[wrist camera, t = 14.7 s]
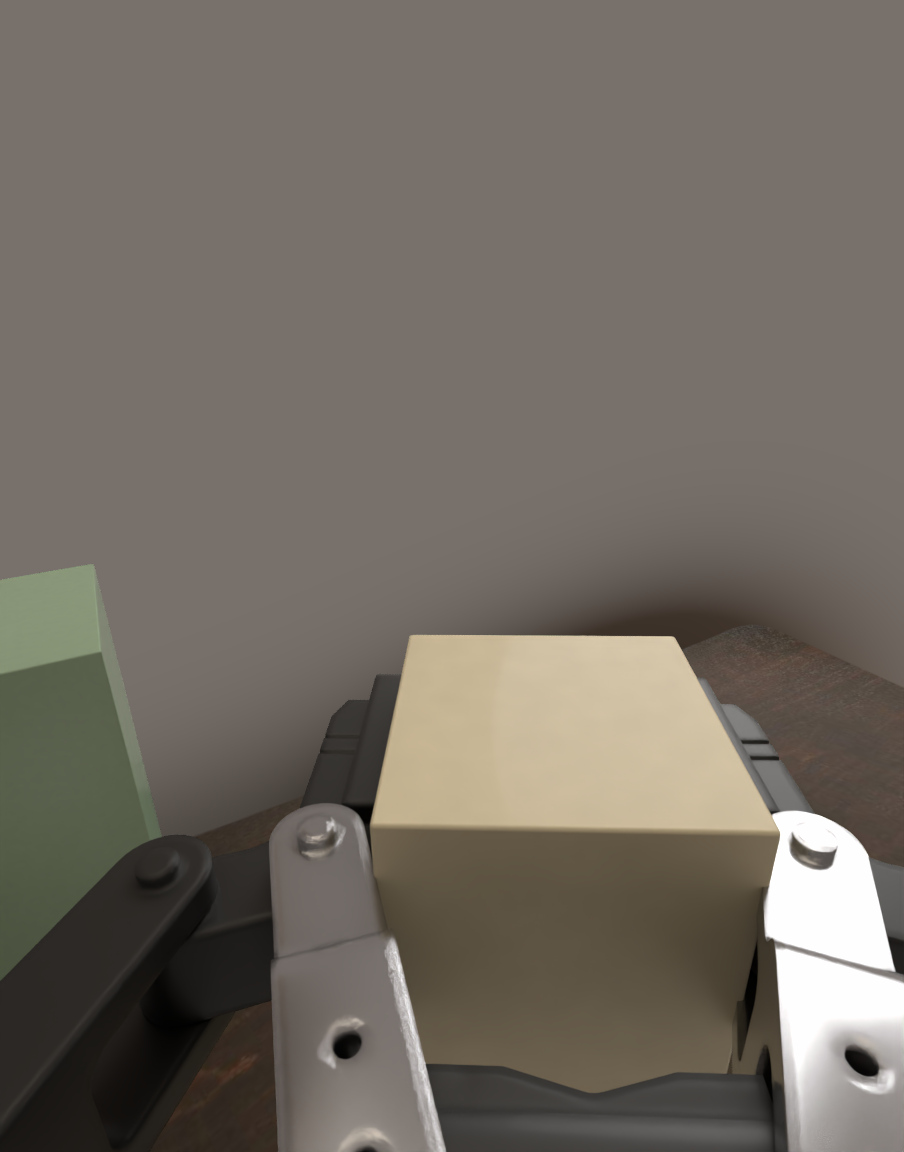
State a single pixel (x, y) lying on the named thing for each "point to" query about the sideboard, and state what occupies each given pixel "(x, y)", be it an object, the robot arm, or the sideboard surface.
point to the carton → (568, 857)
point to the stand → (61, 755)
